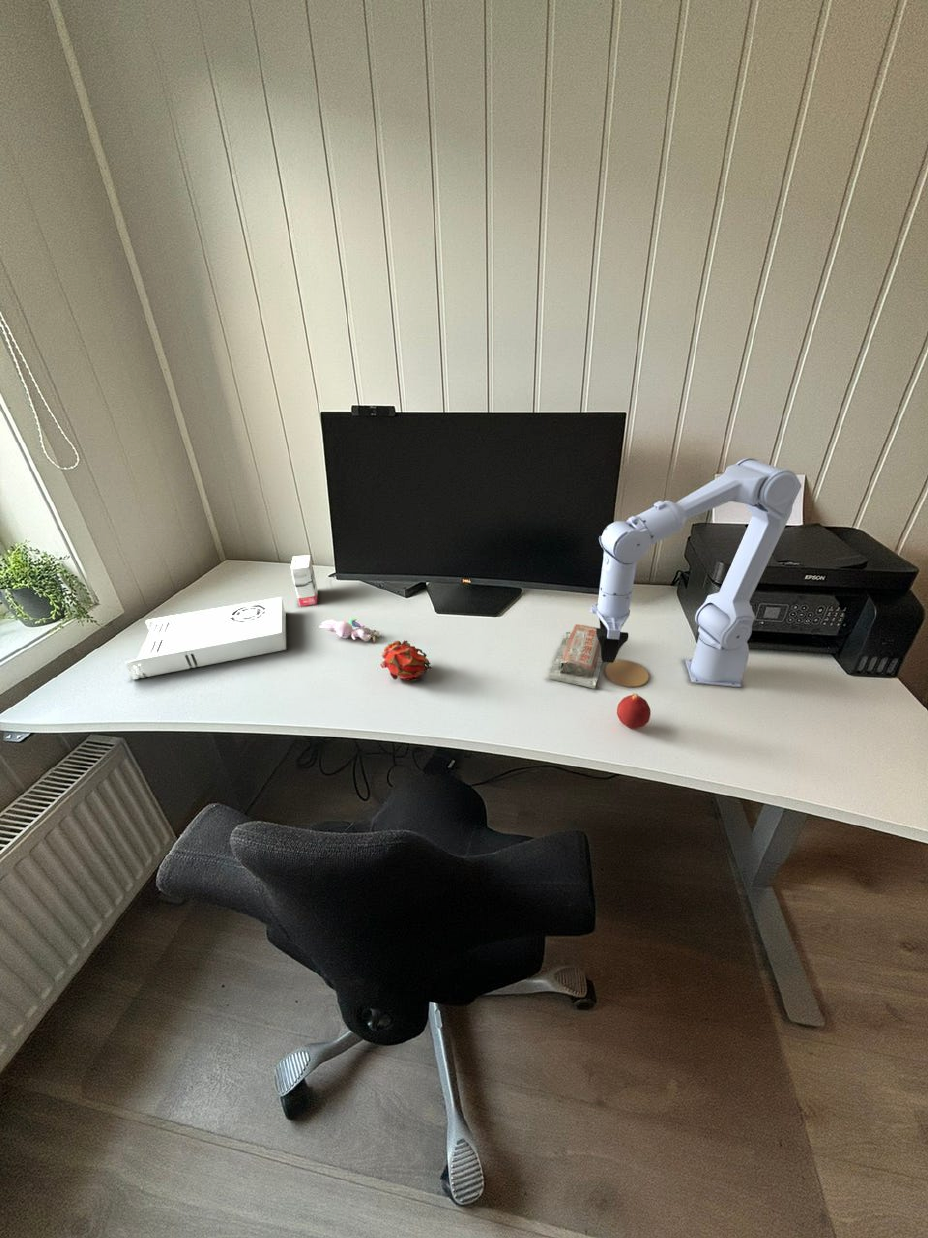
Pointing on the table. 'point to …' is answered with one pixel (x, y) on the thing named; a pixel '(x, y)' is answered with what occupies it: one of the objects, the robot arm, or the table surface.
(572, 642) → the packaged product
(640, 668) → the coaster
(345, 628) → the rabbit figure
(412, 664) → the dragon fruit
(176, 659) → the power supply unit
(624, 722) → the onion
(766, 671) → the table surface
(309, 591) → the ink box
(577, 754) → the table surface
